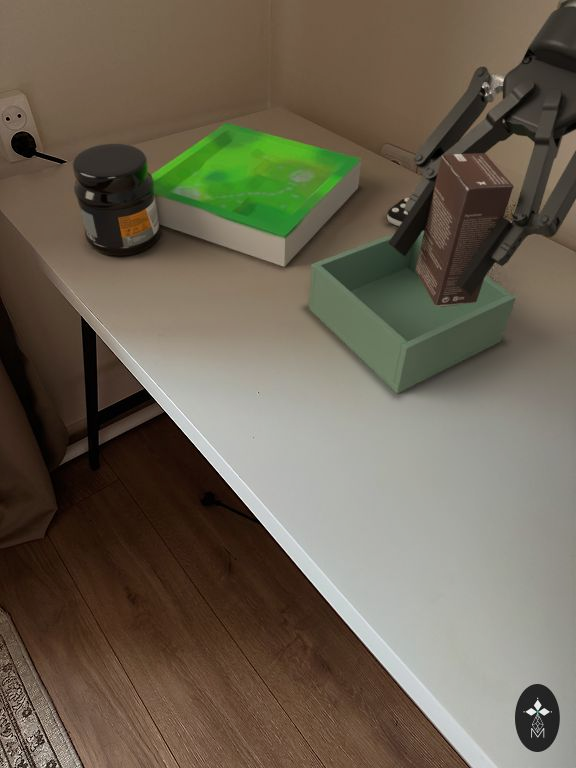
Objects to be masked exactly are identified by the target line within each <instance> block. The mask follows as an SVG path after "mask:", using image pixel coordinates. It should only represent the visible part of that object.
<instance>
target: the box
mask: <svg viewBox="0 0 576 768" xmlns="http://www.w3.org/2000/svg"><path fill="white" fill-rule="evenodd" d="M513 189H514V184H513V183H512V182H511V181H510V180H509V179H508V178H507V176H505V174H504V173H503V172H502V171H501V170H500V169H499V167H498V166H497V165H496V164H495V163H494V162H493V161H492V159H490V157H489V156H488V155H487V154H486V153H473V154H451V155H442V157H441V161H440V165H439V170H438V174H437V178H436V182H435V187H434V191H433V196H432V200H431V204H430V208H429V213H428V217H427V222H426V226H425V231H424V235H423V239H422V243H421V248H420V252H419V257H418V261H417V266H416V272H417V274H418V275H419V277H420V279H421V281H422V283H423V285H424V286H425V288H426V290H427V292H428V294H429V295H430V297H431V299H432V301H433V303H434V304H435V306H440V307H445V306H455V305H463V304H469V303H475V302H477V299H478V296H479V293H480V290H481V287H482V283H483V280H484V279H483V280H482V282H481V283H480V284H479V286H478V287H477V289H476V290H475V291H474V293H473V294H472V296H470V295H468V294H466V293H465V292H463V291H462V290H461V289H460V288H459V287H458V286H457V285H456V284H455V283H456V281H457V280H458V278H459V277H460V276H461V274H462V273H463V271H464V270H465V269H466V267H467V266H468V264H469V263H470V261H471V260H472V259H473V257H474V256H475V254H476V253H477V252H478V250H479V249H480V247H481V246H482V244H483V243H484V242H485V240H486V239H487V237H488V236H489V235H490V233H491V232H492V230H493V229H494V227H495V226H496V225H497V223H498V222H499V220H500V219H501V218H502V217H503V218H505V214H506V211H507V208H508V205H509V203H510V198H511V195H512V193H513Z"/></svg>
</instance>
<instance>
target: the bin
mask: <svg viewBox="0 0 576 768" xmlns="http://www.w3.org/2000/svg"><path fill="white" fill-rule="evenodd" d="M394 234H395V232H394V233H392V234H389V235H386V236H383V237H381V238H378V239H374V240H372V241H369V242H367V243H364V244H362V245H360V246H357V247H354V248H351V249H349V250H346V251H343V252H340V253H338V254H335V255H332V256H330V257H327V258H325V259H322V260H318V261H317V262H314V263H311V269H310V270H311V273H310V285H309V286H310V287H309V289H310V290H309V303H308V309H309V311H310V312H311V313H312V314H314V315H315V316H316V317H317V318H318V319H319V320H320V321H321V322H322V323H323V324H324V325H325V326H326V327H327V328H328V329H329V330H330V331H331V332H333V334H334V335H335V336H336V337H338V338H339V339H340V341H341V342H343V343H344V344H345V345H346V346H347V347H348V348H349V349H350V350H351V351H352V352H353V353H354V354H355V355H356V356H357V357H358V358H359V359H360V360H361V361H362V362H364V363H365V364H366V365H367V366H368V367H369V369H371V371H373V372H374V373H375V374H376V375H377V376H378V377H379V378H380V379H381V380H382V381H383V382H384V383H385V384H387V386H388V387H390V388H391V390H393V391H394V392H395V393H396V394H400V393H401V392H403V391H405V390H407V389H410V388H412V387H413V386H415V385H418V384H419V383H421V382H423V381H425V380H427V379H430V378H431V377H433V376H435V375H438V374H440V373H441V372H443V371H446V370H447V369H449V368H451V367H453V366H455V365H457V364H459V363H461V362H463V361H465V360H467V359H469V358H471V357H474V356H475V355H477V354H479V353H481V352H483V351H485V350H487V349H489V348H490V347H491V348H492V347H493V346H495V345H497V344H499V343H501V341H502V338H503V335H504V333H505V330H506V327H507V325H508V322H509V319H510V316H511V313H512V310H513V308H514V305H515V302H516V299H517V296H516V295H514V294H513V293H512V292H510V291H509V290H508V289H506V288H505V287H503V286H502V285H501V284H499V283H497V282H496V281H494V280H493V279H492V278H490V277H489V276H488V275H486V276H485V277H484V280H483V283H482V287H481V290H480V293H479V296H478V299H477V302H475V303H469V304H463V305H455V306H445V307H440V306H435V304H434V303H433V301H432V299H431V297H430V295H429V294H428V292H427V290H426V288H425V286H424V285H423V283H422V281H421V279H420V277H419V275H418V274H417V272H416V266H417V261H418V257H419V252H420V248H421V243H422V239H423V235H424V231H422V232H421V234H420V235H419V237H418V238H417V240H416V241H415V243H414V244H413V246H412V247H411V249H410V250H409V251H408V253H407V254H406V256H403V255H402V254H400V253H399V252H398V251H396V250H395V249H394V248H393V247H392V246H391V245H390V244H389V243H388V242H389V241H390V239H391V238H392V236H393V235H394Z"/></svg>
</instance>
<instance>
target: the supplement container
mask: <svg viewBox="0 0 576 768" xmlns="http://www.w3.org/2000/svg"><path fill="white" fill-rule="evenodd" d="M72 169H73V174H74V178H75V182H74V185H73V186H74V187H73V191H74V194H75V197H76V199H77V203H78V208H79V212H80V216H81V221H82V225H83V229H84V234H85V238H86V239H85V240H87V243H88V244H89V245H90V247H92V249H94V250H96V251H97V252H99V253H102V254H105V255H109V256H116V257H117V256H129V255H130V256H131V255H134V254H138V253H140V252H143V251H145V250H147V249H149V248H150V247H152V246H153V245H154V244H155V243H156V242H157V240H158V239H159V237H160V232H161V225H160V224H159V222H158V215H157V208H156V201H155V194H154V181H153V178H152V176H151V175H152V174H151V173H150V172H149V166H148V159H147V156H146V154H145V152H143V151H142V150H141V149H140V148H138V147H135V146H133V145H130V144H124V143H104V144H99V145H94V146H91V147H88V148H87V149H84V150H82V151H80V152H79V153H77V155H76V156H75V157H74V159H72Z"/></svg>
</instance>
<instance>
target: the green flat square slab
mask: <svg viewBox="0 0 576 768" xmlns="http://www.w3.org/2000/svg"><path fill="white" fill-rule="evenodd" d="M361 164H362V158H359V157H357V156H352V155H348V154H344V153H340V152H337V151H333V150H329V149H325V148H323V147H318V146H314V145H312V144H311V145H310V144H306V143H303V142H299V141H296V140H293V139H288V138H285V137H281V136H277V135H274V134H269V133H267V132H266V133H265V132H263V131H258V130H254V129H251V128H248V127H243V126H239V125H236V124H232V123H228V122H225V123H224V124H222V125H221V126H220V127H217V129H215V130H213V131H212V132H211V133H209V134H208V135H206V136H205V137H204V138H202V139H201V140H200V141H197V142H196V143H195V144H193V145H192V146H191V147H189V148H188V149H186V150H185V151H183V152H182V153H181V154H179V155H178V156H176V157H175V158H173V159H172V160H170V161H168V162H167V163H166V164H165V165H163V166H162V167H160V168H159V169H157V170H156V171H155V172H153V173H152V174H150V175H151V176H152V178H153V181H154V194H155V201H156V208H157V215H158V222H159V225H160V226H163V227H166V228H169V229H172V230H175V231H178V232H180V233H183V234H186V235H190V236H192V237H195V238H198V239H201V240H204V241H208V242H210V243H213V244H216V245H219V246H221V247H224V248H227V249H230V250H233V251H237V252H240V253H242V254H245V255H249V256H252V257H254V258H257V259H260V260H263V261H265V262H269V263H272V264H275V265H277V266H281V267H283V268H285V267H286V266H288V264H289V263H290V262H291V260H292V259H294V257H295V256H296V255H298V253H299V252H300V251H301V250H302V249H303V248H304V247H305V246H306V245H307V244H308V243H309V241H310V240H311V239H312V238H313V237H314V236H316V234H317V233H318V232H319V231H320V230H321V228H323V226H324V225H325V224H326V223H327V222H328V221H329V220H330V219H331V218H332V217H333V215H335V213H337V211H338V210H339V209H340V208H341V207H342V206H343V205H344V204H345V203H346V202H347V201H348V200H349V198H350V197H352V195H353V194H354V193H355V192H356V191H357V190H358V189H359V185H360V175H361V166H362V165H361Z"/></svg>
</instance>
